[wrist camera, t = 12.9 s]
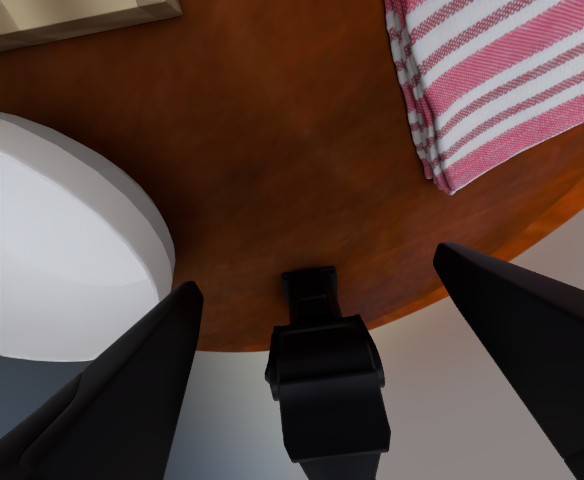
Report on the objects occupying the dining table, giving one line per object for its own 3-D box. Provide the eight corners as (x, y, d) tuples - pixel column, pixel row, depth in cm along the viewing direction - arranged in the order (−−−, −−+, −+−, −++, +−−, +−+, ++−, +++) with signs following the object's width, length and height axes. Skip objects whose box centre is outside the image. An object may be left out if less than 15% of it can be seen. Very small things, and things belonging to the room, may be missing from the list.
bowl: (220, 277, 25) (198, 350, 18) (60, 292, 25) (-26, 372, 18) (147, 77, 15) (23, 64, 8) (-131, 103, 15) (-523, 114, 7)
